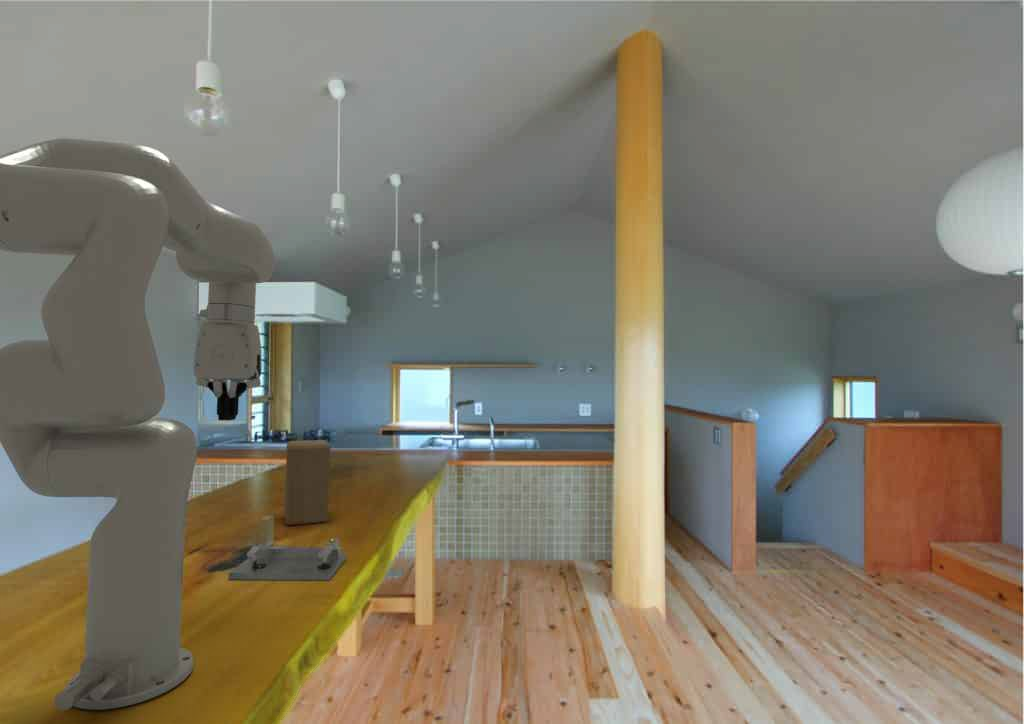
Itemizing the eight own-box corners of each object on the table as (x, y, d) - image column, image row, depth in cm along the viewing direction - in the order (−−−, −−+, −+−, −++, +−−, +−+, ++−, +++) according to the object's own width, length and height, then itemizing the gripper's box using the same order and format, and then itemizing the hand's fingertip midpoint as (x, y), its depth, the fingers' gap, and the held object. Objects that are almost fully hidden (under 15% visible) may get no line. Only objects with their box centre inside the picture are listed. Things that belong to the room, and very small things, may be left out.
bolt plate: (329, 580, 99) (330, 553, 99) (228, 579, 98) (229, 552, 98) (346, 558, 111) (347, 534, 111) (256, 557, 110) (257, 533, 110)
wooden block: (283, 516, 143) (286, 440, 143) (324, 513, 147) (326, 439, 148) (285, 526, 134) (288, 444, 134) (328, 522, 138) (330, 443, 138)
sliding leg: (255, 567, 100) (257, 526, 101) (245, 567, 100) (247, 526, 100) (273, 553, 109) (274, 515, 109) (263, 553, 109) (265, 515, 109)
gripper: (176, 313, 93) (171, 420, 92) (265, 315, 93) (261, 422, 93) (199, 317, 100) (195, 417, 100) (282, 320, 101) (278, 419, 100)
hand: (227, 419), depth 96 cm, fingers closed
